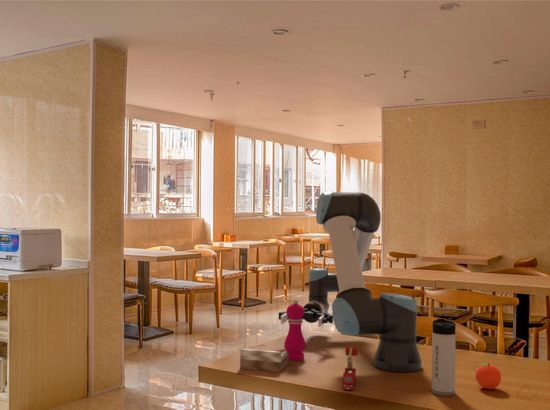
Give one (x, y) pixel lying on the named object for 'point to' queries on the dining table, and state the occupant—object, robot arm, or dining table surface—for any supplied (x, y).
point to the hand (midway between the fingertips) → (300, 321)
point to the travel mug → (443, 357)
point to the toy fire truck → (349, 378)
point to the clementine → (488, 376)
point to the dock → (263, 360)
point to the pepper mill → (295, 332)
